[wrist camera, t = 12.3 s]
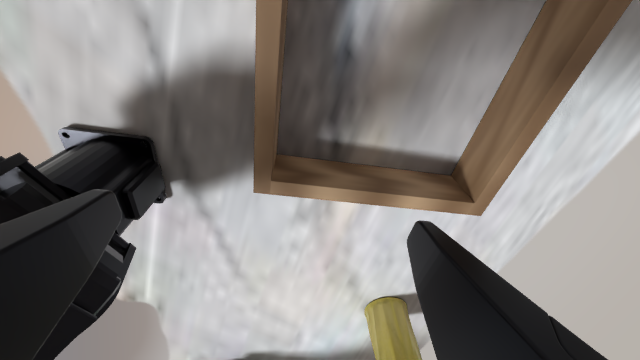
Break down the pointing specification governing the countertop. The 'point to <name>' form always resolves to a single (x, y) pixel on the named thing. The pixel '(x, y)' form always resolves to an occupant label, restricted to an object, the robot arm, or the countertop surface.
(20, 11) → the countertop surface
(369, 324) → the vase
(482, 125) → the wooden square frame
